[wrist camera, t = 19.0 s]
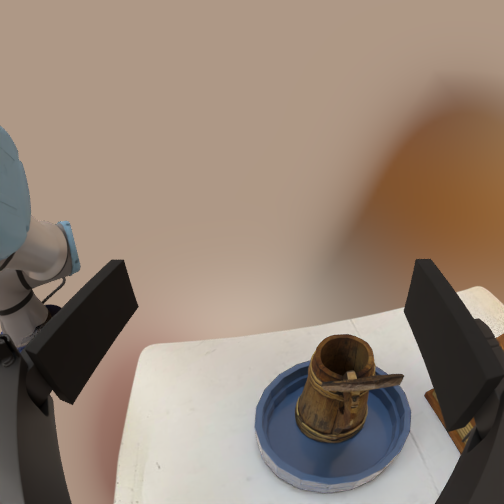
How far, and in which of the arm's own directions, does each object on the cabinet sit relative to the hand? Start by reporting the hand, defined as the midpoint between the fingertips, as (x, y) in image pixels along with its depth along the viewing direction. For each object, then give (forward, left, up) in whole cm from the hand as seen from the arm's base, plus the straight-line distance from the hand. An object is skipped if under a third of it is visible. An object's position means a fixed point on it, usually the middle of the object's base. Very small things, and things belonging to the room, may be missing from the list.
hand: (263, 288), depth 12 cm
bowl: (-1, +9, -26) cm, 27 cm away
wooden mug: (-1, +9, -25) cm, 27 cm away
